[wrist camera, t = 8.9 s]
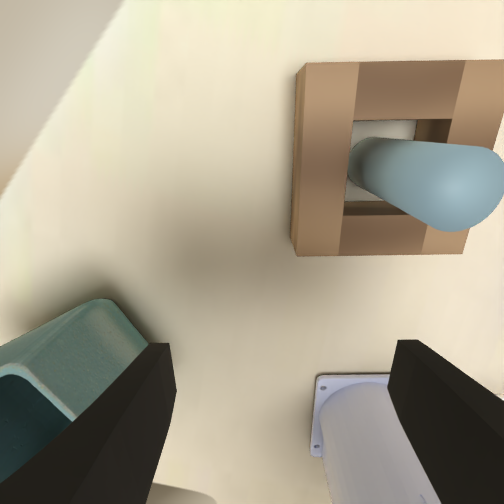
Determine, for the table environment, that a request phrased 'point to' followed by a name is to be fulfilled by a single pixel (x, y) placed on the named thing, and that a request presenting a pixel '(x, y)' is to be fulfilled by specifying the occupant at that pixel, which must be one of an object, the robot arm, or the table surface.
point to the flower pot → (59, 375)
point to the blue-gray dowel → (430, 179)
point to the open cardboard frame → (381, 108)
